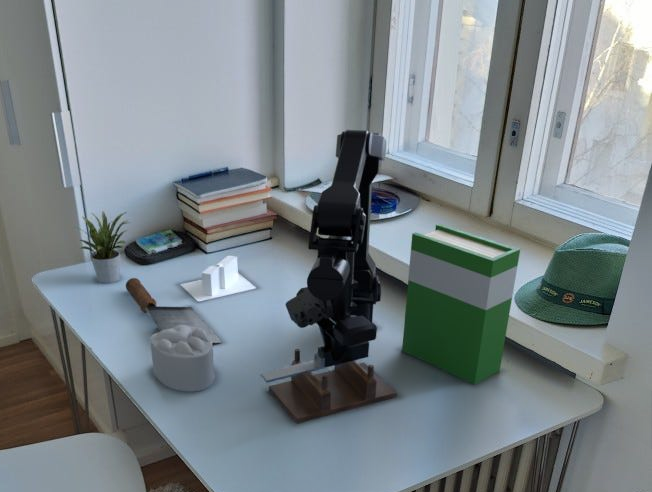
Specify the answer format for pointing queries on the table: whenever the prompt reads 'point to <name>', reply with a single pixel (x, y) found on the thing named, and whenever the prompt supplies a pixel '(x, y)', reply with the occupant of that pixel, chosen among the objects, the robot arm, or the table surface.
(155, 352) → the lumpy-topped squat cylinder
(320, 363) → the kitchen knife
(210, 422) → the table surface
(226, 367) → the table surface
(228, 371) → the table surface
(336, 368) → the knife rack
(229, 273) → the napkin holder
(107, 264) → the house plant
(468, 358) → the hardback book
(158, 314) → the meat cleaver
